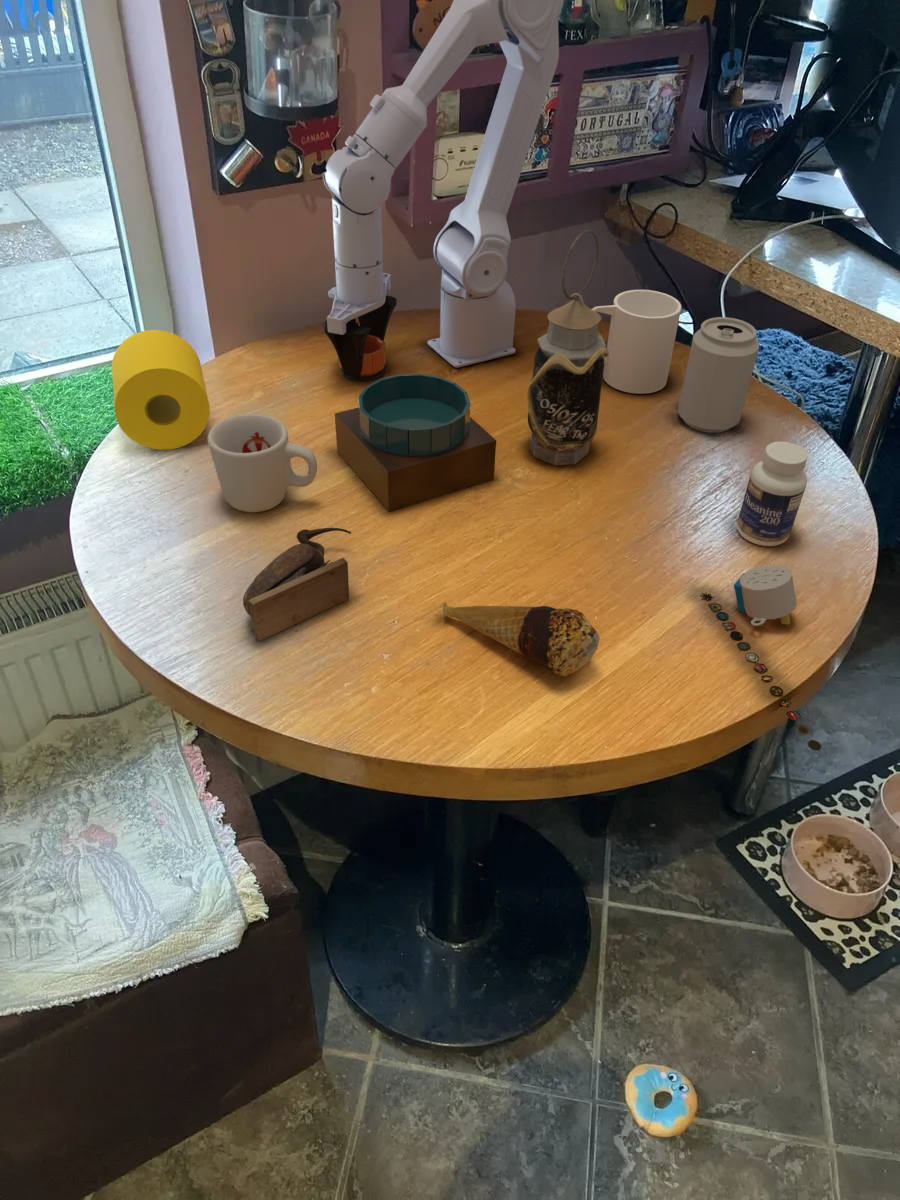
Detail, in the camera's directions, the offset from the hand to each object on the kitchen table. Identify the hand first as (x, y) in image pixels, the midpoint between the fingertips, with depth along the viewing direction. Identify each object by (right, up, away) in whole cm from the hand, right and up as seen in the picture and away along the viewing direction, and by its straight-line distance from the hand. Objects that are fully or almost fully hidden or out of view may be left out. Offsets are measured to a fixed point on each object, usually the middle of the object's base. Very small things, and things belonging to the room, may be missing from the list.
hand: (362, 363), depth 121 cm
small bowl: (0, 0, 0) cm, 1 cm away
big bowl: (+7, -12, -19) cm, 23 cm away
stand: (+7, -15, -16) cm, 23 cm away
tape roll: (-20, -10, -18) cm, 29 cm away
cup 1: (-8, -20, -21) cm, 30 cm away
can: (+43, -9, -6) cm, 44 cm away
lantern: (+24, -13, -12) cm, 30 cm away
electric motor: (+39, -30, -32) cm, 59 cm away
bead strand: (+39, -36, -38) cm, 65 cm away
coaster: (0, -1, +1) cm, 1 cm away
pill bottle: (+44, -24, -23) cm, 55 cm away
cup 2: (+33, -2, 0) cm, 33 cm away
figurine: (0, -30, -36) cm, 47 cm away
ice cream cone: (+10, -31, -35) cm, 48 cm away
